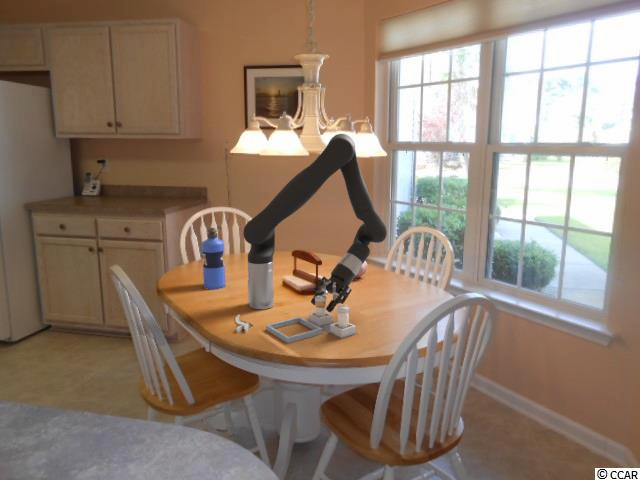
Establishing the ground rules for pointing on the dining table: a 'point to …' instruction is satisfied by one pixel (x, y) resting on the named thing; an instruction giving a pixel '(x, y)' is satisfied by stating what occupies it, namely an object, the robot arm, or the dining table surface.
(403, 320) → the dining table surface
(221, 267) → the water bottle
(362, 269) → the decorative fruit
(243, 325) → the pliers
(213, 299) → the dining table surface
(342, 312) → the fuse
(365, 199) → the robot arm
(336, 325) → the fuse holder
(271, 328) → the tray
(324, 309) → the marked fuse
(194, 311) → the dining table surface
